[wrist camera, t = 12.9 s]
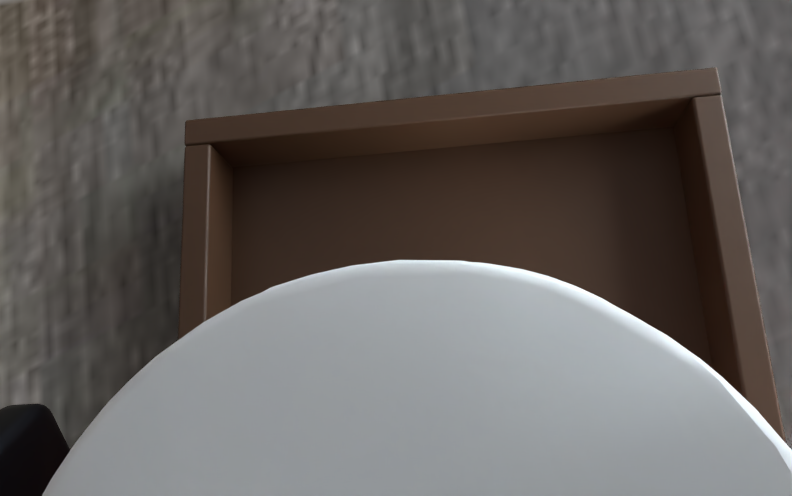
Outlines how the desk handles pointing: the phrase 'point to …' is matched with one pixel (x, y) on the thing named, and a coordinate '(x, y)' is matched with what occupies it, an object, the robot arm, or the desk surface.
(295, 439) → the pill bottle
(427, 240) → the tray
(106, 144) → the desk surface
